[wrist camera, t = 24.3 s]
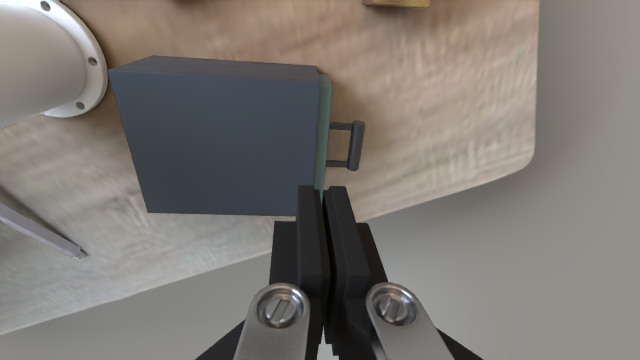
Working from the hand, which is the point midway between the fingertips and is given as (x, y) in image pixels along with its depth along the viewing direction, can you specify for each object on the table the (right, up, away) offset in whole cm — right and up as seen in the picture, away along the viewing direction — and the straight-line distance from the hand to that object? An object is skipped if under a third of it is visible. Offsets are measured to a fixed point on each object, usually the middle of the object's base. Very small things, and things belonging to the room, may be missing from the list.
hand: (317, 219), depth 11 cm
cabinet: (-10, +8, +25) cm, 28 cm away
